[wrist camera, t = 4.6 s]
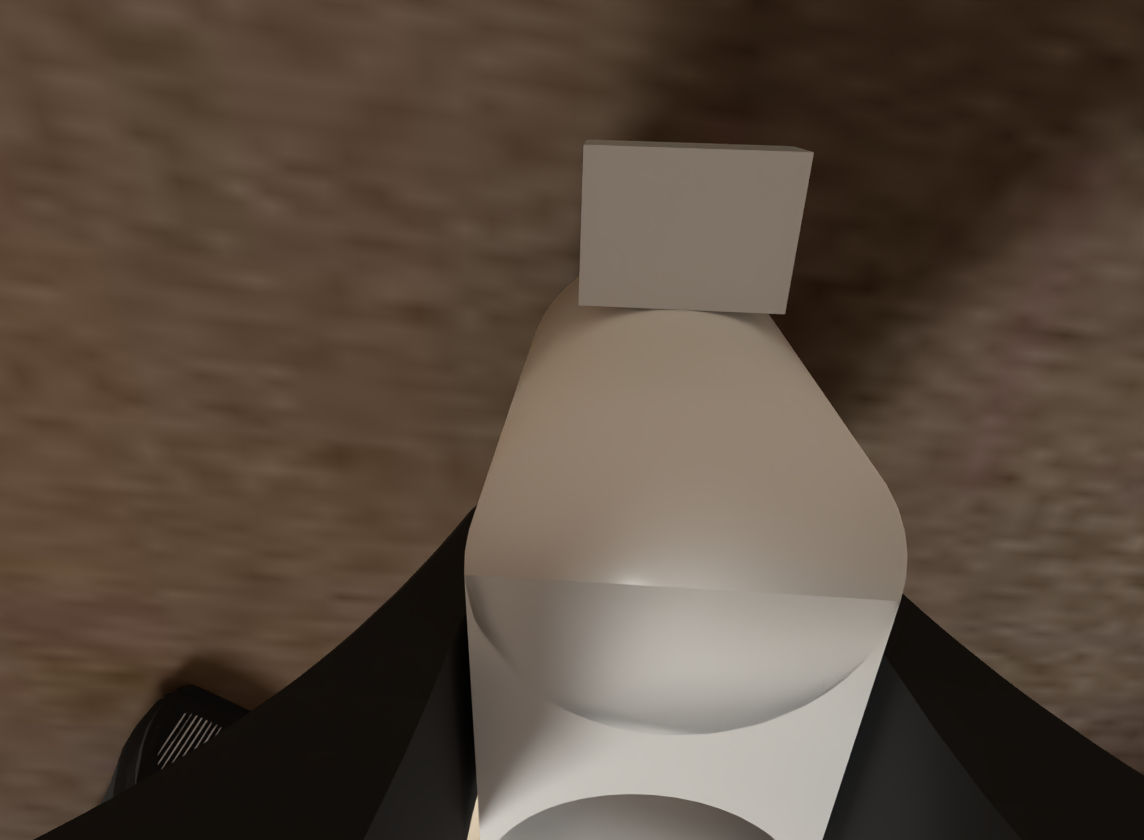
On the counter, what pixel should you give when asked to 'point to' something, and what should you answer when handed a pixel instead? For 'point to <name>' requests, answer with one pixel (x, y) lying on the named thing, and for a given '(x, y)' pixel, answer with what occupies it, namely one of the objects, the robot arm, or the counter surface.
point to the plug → (675, 529)
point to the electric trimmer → (171, 734)
